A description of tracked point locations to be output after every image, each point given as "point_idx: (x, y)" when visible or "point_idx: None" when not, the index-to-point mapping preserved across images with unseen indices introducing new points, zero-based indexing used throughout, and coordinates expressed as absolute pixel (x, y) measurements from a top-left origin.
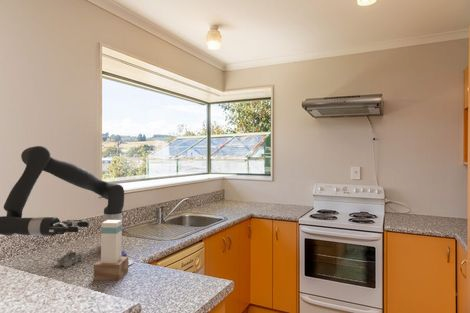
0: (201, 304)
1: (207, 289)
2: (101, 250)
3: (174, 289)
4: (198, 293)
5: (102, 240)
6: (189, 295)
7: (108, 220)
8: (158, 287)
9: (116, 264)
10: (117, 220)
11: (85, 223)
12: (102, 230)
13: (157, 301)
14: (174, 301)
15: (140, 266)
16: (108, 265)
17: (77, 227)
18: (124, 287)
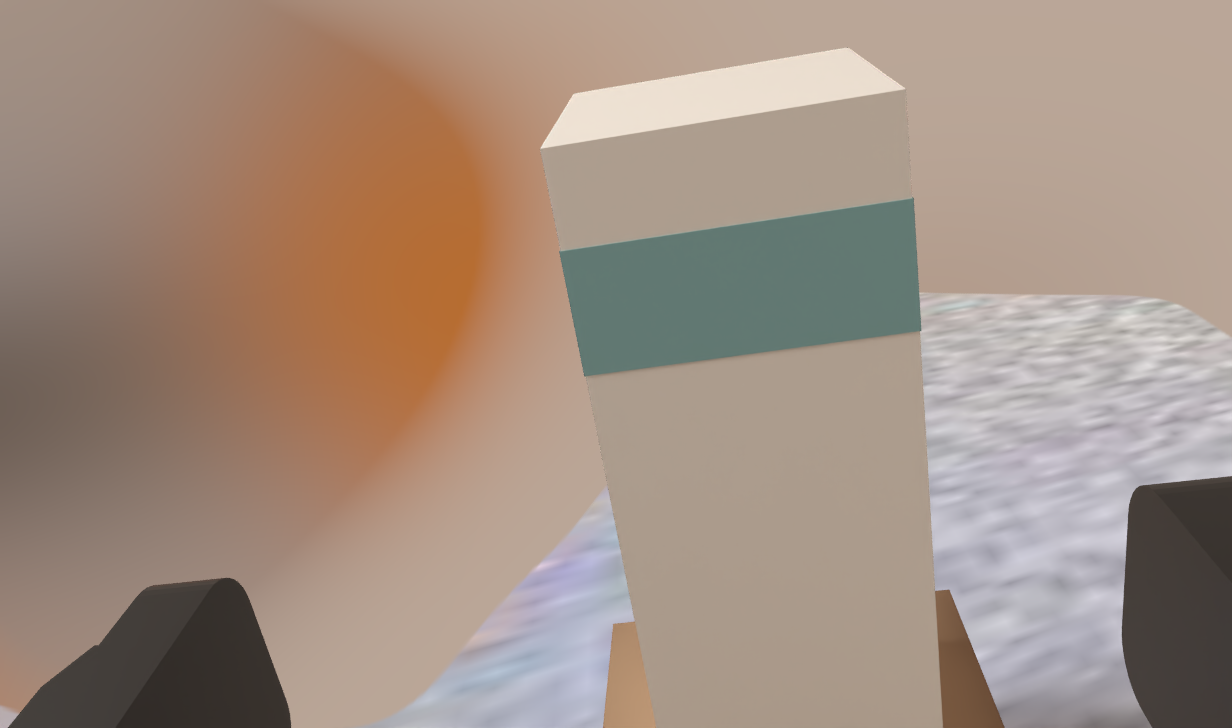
0: (1113, 296)
1: None
2: (934, 636)
3: (980, 399)
4: (986, 327)
5: (923, 454)
6: (1032, 341)
7: (619, 127)
8: (987, 461)
9: (939, 619)
10: (612, 97)
11: (208, 697)
12: (911, 258)
13: (1209, 408)
14: (1151, 361)
15: (501, 710)
16: (989, 698)
17: (1220, 483)
18: (1107, 634)
